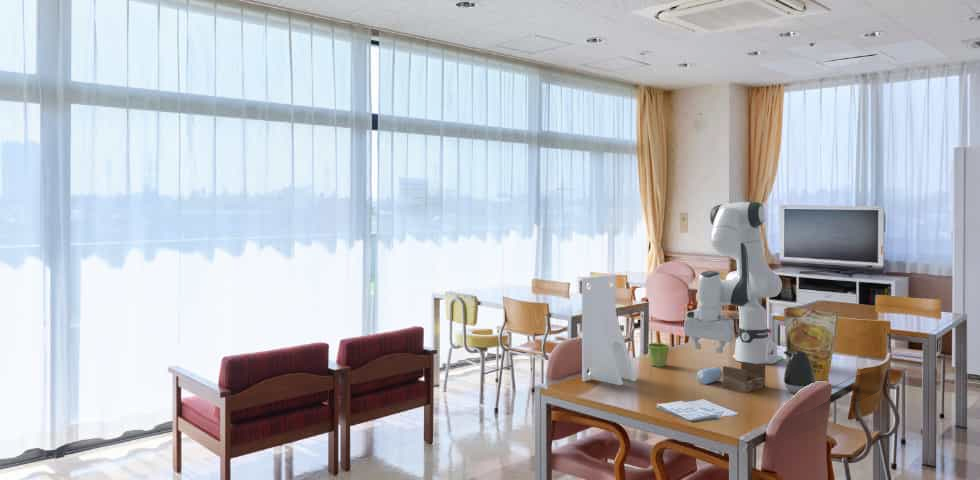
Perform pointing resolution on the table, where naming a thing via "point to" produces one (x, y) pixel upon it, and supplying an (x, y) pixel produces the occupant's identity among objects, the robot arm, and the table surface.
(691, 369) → the table surface
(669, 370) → the table surface
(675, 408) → the light blue flat cloth
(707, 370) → the blue roll
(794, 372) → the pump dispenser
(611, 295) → the white bracket plate
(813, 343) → the pancake mix bag
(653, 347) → the plant pot
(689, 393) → the table surface
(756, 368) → the open wooden box
